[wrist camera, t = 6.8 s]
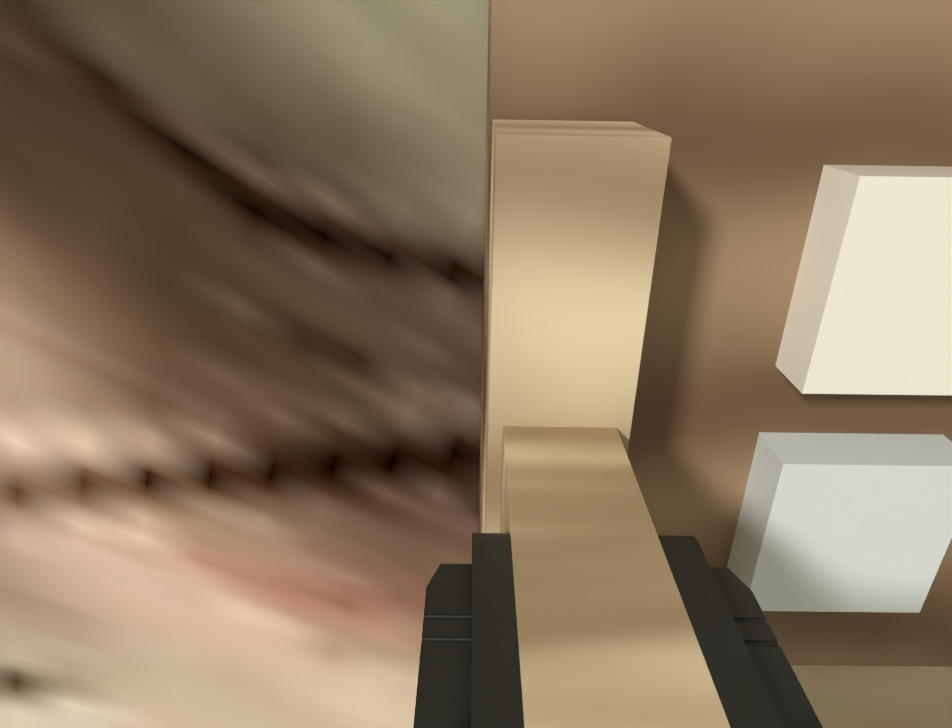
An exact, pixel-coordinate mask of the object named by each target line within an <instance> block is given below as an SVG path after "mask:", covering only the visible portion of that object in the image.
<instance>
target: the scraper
mask: <svg viewBox="0 0 952 728" xmlns="http://www.w3.org/2000/svg"><path fill="white" fill-rule="evenodd" d="M671 139H672V137H669V136H667V135H664V134H662V133H660V132H657V131H655V130H652V129H650V128H647V127H645V126H642V125H640V124H637V123H635V122H622V121H561V120H501V119H493V126H492V166H491V206H490V246H489V286H488V326H487V366H486V406H485V446H484V486H483V526H482V533H510V535H511V547H512V561H513V575H514V589H515V602H516V616H517V630H518V644H519V658H520V672H521V686H522V700H523V714H524V728H731V727H730V725H729V722H728V720H727V717H726V714H725V712H724V709H723V706H722V704H721V701H720V698H719V696H718V693H717V691H716V688H715V685H714V683H713V680H712V677H711V675H710V672H709V669H708V667H707V664H706V662H705V659H704V656H703V654H702V651H701V648H700V646H699V643H698V641H697V638H696V635H695V633H694V630H693V627H692V625H691V622H690V619H689V617H688V614H687V612H686V609H685V606H684V604H683V601H682V598H681V596H680V593H679V590H678V588H677V585H676V583H675V580H674V577H673V575H672V572H671V569H670V567H669V564H668V561H667V559H666V556H665V554H664V551H663V548H662V546H661V543H660V540H659V538H658V535H657V532H656V530H655V527H654V525H653V522H652V519H651V517H650V514H649V511H648V509H647V506H646V504H645V501H644V498H643V496H642V493H641V490H640V488H639V485H638V482H637V480H636V477H635V475H634V472H633V469H632V467H631V464H630V461H629V459H628V456H627V453H628V446H629V438H630V431H631V424H632V417H633V410H634V403H635V396H636V389H637V381H638V374H639V367H640V360H641V353H642V346H643V339H644V332H645V324H646V317H647V310H648V303H649V296H650V289H651V282H652V275H653V267H654V260H655V253H656V246H657V239H658V232H659V225H660V218H661V210H662V203H663V196H664V189H665V182H666V175H667V168H668V161H669V153H670V146H671Z"/></svg>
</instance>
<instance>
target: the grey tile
mask: <svg viewBox="0 0 952 728" xmlns="http://www.w3.org/2000/svg"><path fill="white" fill-rule="evenodd" d="M951 538H952V441H950V440H949V439H948V438H947V437H945V436H944V435H939V434H856V433H774V432H759V436H758V440H757V444H756V448H755V452H754V456H753V460H752V465H751V469H750V473H749V477H748V481H747V485H746V490H745V494H744V498H743V502H742V506H741V510H740V514H739V519H738V523H737V527H736V531H735V535H734V539H733V543H732V548H731V552H730V556H729V560H728V564H727V567H728V568H729V569H730V570H731V571H732V572H733V573H734V574H735V575H736V576H737V577H738V578H739V579H740V580H741V581H742V582H743V583H744V584H745V585H746V586H747V587H748V588H750V589H751V590H752V592H753V594H754V596H755V598H756V600H757V602H758V604H759V605H760V607H761V609H762V611H807V612H902V613H920V610H921V608H922V606H923V603H924V601H925V599H926V596H927V594H928V592H929V589H930V587H931V585H932V582H933V580H934V578H935V575H936V573H937V571H938V569H939V566H940V564H941V562H942V559H943V557H944V555H945V552H946V550H947V548H948V545H949V543H950V541H951Z"/></svg>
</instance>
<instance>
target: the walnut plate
mask: <svg viewBox="0 0 952 728" xmlns="http://www.w3.org/2000/svg"><path fill="white" fill-rule="evenodd" d="M493 119H501V120H561V121H622V122H635V123H637V124H640V125H642V126H645V127H647V128H650V129H652V130H655V131H657V132H660V133H662V134H664V135H667V136H669V137H672V139H671V146H670V153H669V161H668V168H667V175H666V182H665V189H664V196H663V203H662V210H661V218H660V225H659V232H658V239H657V246H656V253H655V260H654V267H653V275H652V282H651V289H650V296H649V303H648V310H647V317H646V324H645V332H644V339H643V346H642V353H641V360H640V367H639V374H638V381H637V389H636V396H635V403H634V410H633V417H632V424H631V431H630V438H629V446H628V453H627V456H628V459H629V461H630V464H631V467H632V469H633V472H634V475H635V477H636V480H637V482H638V485H639V488H640V490H641V493H642V496H643V498H644V501H645V504H646V506H647V509H648V511H649V514H650V517H651V519H652V522H653V525H654V527H655V530H656V532H657V535H668V536H694V537H695V538H696V539H697V541H698V543H699V545H700V547H701V549H702V551H703V553H704V556H705V558H706V560H707V562H708V564H709V566H710V567H727V564H728V560H729V556H730V552H731V548H732V543H733V539H734V535H735V531H736V527H737V523H738V519H739V514H740V510H741V506H742V502H743V498H744V494H745V490H746V485H747V481H748V477H749V473H750V469H751V465H752V460H753V456H754V452H755V448H756V444H757V440H758V436H759V432H774V433H856V434H939V435H944V436H945V437H947V438H948V439H949V440H950V441H952V395H872V394H802V393H801V392H800V391H799V390H798V389H797V388H796V387H795V386H794V385H793V384H792V383H791V382H790V381H789V380H788V379H787V378H786V376H785V375H784V374H783V373H782V372H781V371H780V370H779V369H778V368H777V367H776V366H775V365H776V361H777V357H778V353H779V349H780V344H781V340H782V336H783V332H784V328H785V324H786V320H787V315H788V311H789V307H790V303H791V299H792V295H793V291H794V286H795V282H796V278H797V274H798V270H799V266H800V262H801V257H802V253H803V249H804V245H805V241H806V237H807V233H808V228H809V224H810V220H811V216H812V212H813V208H814V204H815V199H816V195H817V191H818V187H819V183H820V179H821V175H822V170H823V166H824V165H875V166H944V167H952V0H489V30H488V81H487V131H486V182H485V232H484V283H483V333H482V384H481V435H480V485H479V533H482V526H483V486H484V446H485V406H486V366H487V326H488V286H489V246H490V206H491V166H492V126H493ZM763 613H764V615H765V617H766V623H769V625H770V627H771V629H772V631H773V633H774V635H775V636H776V638H777V640H778V646H779V647H781V648H782V650H783V652H784V654H785V656H786V658H787V660H788V662H789V664H790V665H868V666H952V538H951V541H950V543H949V545H948V548H947V550H946V552H945V555H944V557H943V559H942V562H941V564H940V566H939V569H938V571H937V573H936V575H935V578H934V580H933V582H932V585H931V587H930V589H929V592H928V594H927V596H926V599H925V601H924V603H923V606H922V608H921V610H920V613H902V612H807V611H763Z"/></svg>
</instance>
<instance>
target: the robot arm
mask: <svg viewBox="0 0 952 728" xmlns="http://www.w3.org/2000/svg"><path fill="white" fill-rule="evenodd" d="M658 538H659V540H660V543H661V546H662V548H663V551H664V554H665V556H666V559H667V561H668V564H669V567H670V569H671V572H672V575H673V577H674V580H675V583H676V585H677V588H678V590H679V593H680V596H681V598H682V601H683V604H684V606H685V609H686V612H687V614H688V617H689V619H690V622H691V625H692V627H693V630H694V633H695V635H696V638H697V641H698V643H699V646H700V648H701V651H702V654H703V656H704V659H705V662H706V664H707V667H708V669H709V672H710V675H711V677H712V680H713V683H714V685H715V688H716V691H717V693H718V696H719V698H720V701H721V704H722V706H723V709H724V712H725V714H726V717H727V720H728V722H729V725H730V727H731V728H822V726H821V724H820V722H819V720H818V718H817V716H816V714H815V712H814V710H813V708H812V706H811V704H810V702H809V700H808V698H807V697H806V695H805V693H804V691H803V689H802V687H801V685H800V683H799V681H798V679H797V677H796V675H795V673H794V671H793V669H792V667H791V666H790V664H789V662H788V660H787V658H786V656H785V654H784V652H783V650H782V648H781V647H779V646H778V640H777V638H776V636H775V635H774V633H773V631H772V629H771V627H770V625H769V623H766V617H765V615H764V613H763V611H762V609H761V607H760V605H759V604H758V602H757V600H756V598H755V596H754V594H753V592H752V590H751V589H750V588H748V587H747V586H746V585H745V584H744V583H743V582H742V581H741V580H740V579H739V578H738V577H737V576H736V575H735V574H734V573H733V572H732V571H731V570H730V569H729V568H728V567H710V566H709V564H708V562H707V560H706V558H705V556H704V553H703V551H702V549H701V547H700V545H699V543H698V541H697V539H696V538H695V537H694V536H668V535H658ZM414 728H524V714H523V700H522V686H521V672H520V658H519V644H518V630H517V616H516V602H515V589H514V575H513V561H512V547H511V535H510V533H472V564H441V565H440V566H439V568H438V570H437V571H436V573H435V574H434V576H433V577H432V579H431V581H430V582H429V584H428V585H427V589H426V599H425V610H424V621H423V632H422V642H421V653H420V664H419V675H418V685H417V696H416V707H415V718H414Z"/></svg>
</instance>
